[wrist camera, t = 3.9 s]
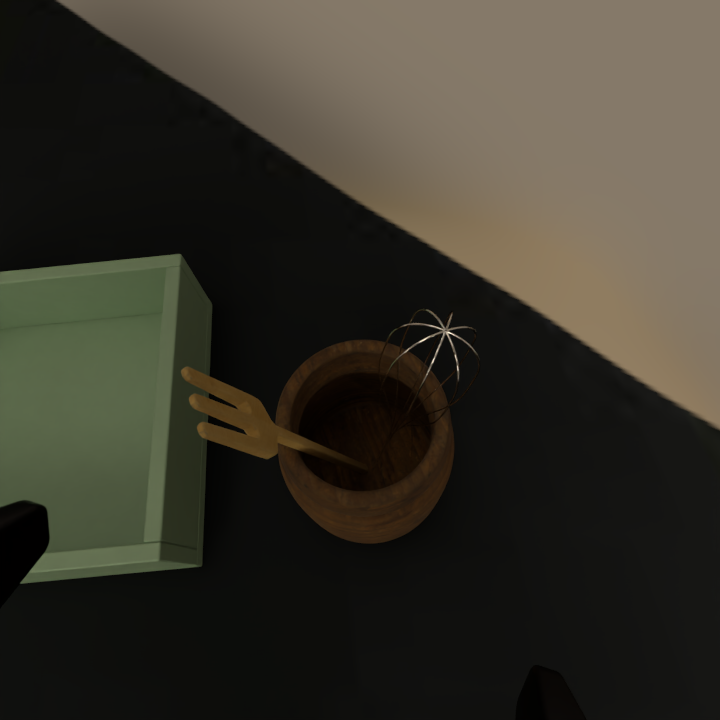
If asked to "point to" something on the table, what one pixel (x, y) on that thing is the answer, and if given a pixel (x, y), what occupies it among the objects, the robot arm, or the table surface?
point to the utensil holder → (350, 434)
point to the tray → (106, 412)
